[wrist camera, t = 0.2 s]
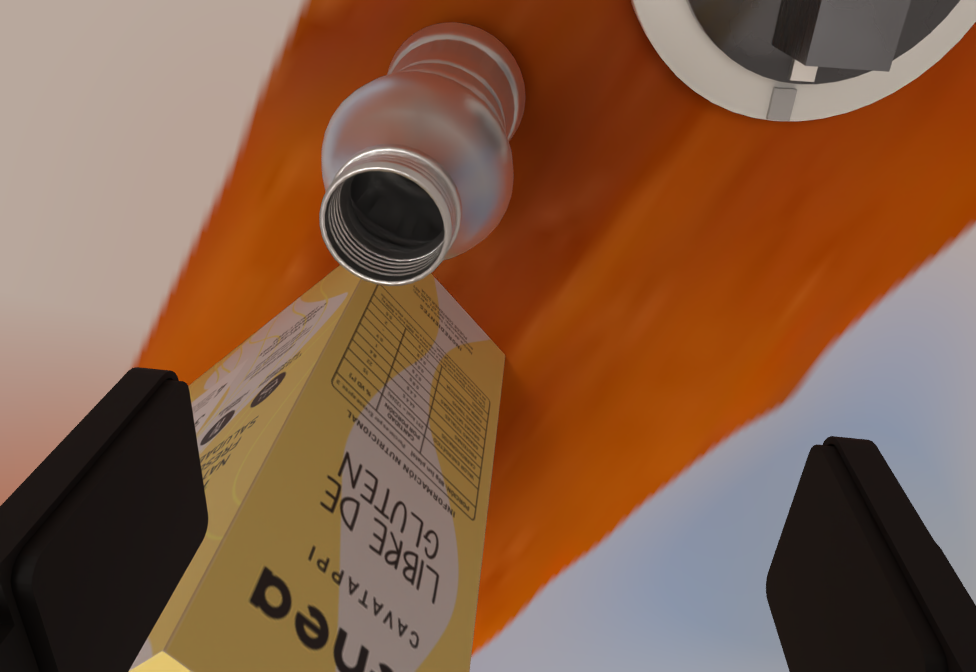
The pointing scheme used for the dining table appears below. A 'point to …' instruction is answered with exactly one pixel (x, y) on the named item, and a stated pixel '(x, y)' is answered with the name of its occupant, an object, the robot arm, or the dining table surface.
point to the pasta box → (340, 489)
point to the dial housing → (768, 99)
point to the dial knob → (817, 34)
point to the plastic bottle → (422, 156)
